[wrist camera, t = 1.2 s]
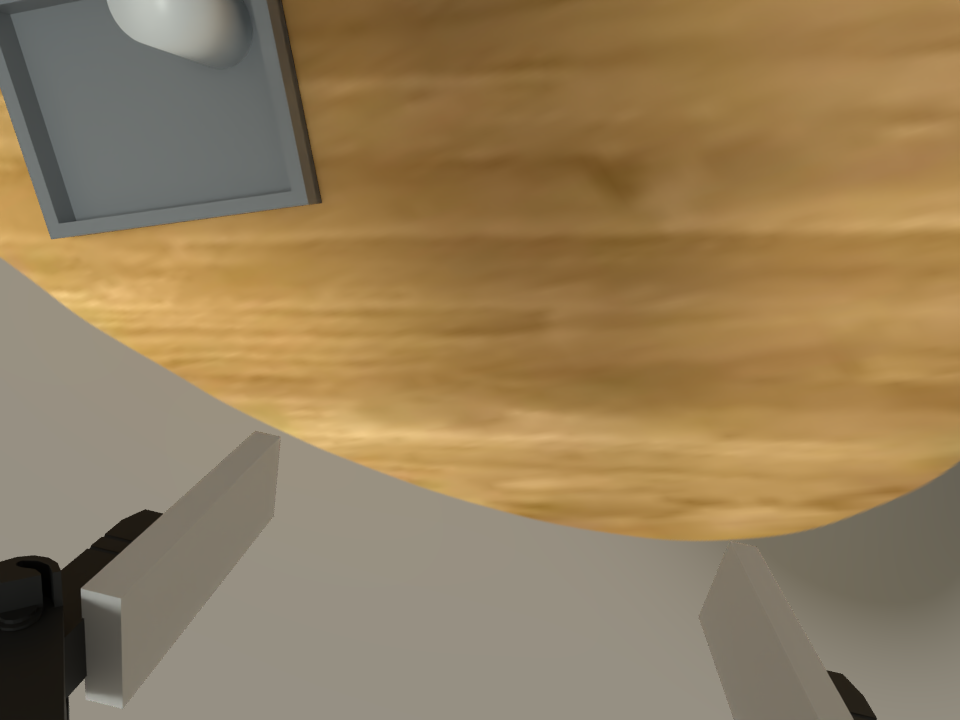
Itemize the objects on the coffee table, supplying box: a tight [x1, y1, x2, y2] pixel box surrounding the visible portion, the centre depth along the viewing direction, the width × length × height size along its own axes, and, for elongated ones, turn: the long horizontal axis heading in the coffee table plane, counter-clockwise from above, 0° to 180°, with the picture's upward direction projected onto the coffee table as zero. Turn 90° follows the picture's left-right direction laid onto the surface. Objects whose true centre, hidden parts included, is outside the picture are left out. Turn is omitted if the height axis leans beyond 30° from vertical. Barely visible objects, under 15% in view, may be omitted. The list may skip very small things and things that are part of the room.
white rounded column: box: [107, 0, 253, 69], centre depth 35 cm, size 5×5×7 cm
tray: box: [0, 0, 322, 239], centre depth 40 cm, size 16×20×2 cm
